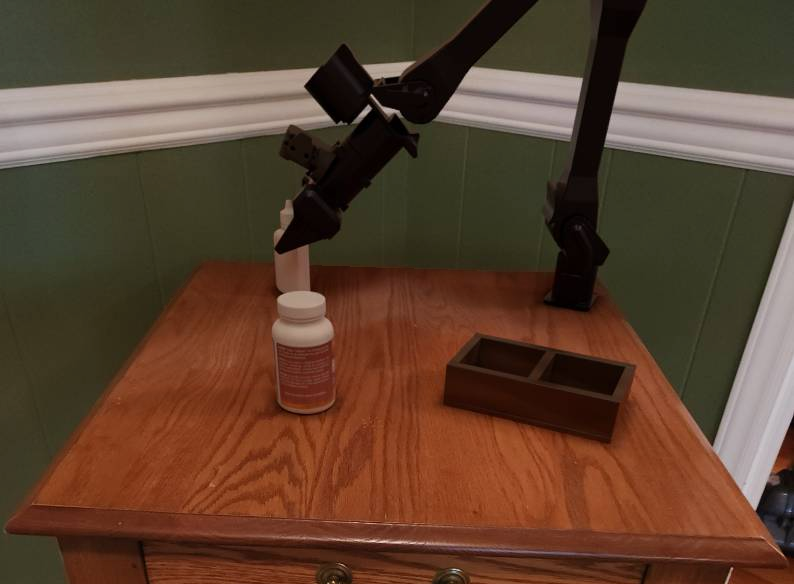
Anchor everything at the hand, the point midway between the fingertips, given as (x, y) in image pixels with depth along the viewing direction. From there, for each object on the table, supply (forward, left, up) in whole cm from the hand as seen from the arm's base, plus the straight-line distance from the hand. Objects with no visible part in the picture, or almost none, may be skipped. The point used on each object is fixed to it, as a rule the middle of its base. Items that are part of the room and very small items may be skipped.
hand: (280, 242), depth 99 cm
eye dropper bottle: (-1, +1, -7) cm, 7 cm away
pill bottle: (+27, +19, -7) cm, 34 cm away
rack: (+16, +41, -7) cm, 45 cm away
